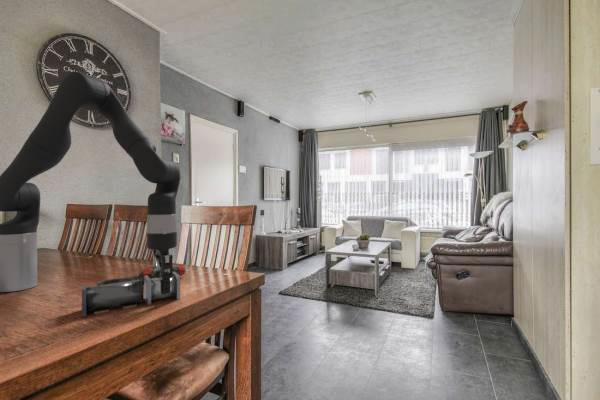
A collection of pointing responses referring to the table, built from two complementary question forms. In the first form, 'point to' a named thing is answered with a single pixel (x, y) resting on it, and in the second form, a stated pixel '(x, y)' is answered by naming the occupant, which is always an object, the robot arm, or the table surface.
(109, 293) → the pipe stub
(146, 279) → the coupling
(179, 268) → the valve
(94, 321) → the table surface
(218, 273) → the table surface
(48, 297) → the table surface
